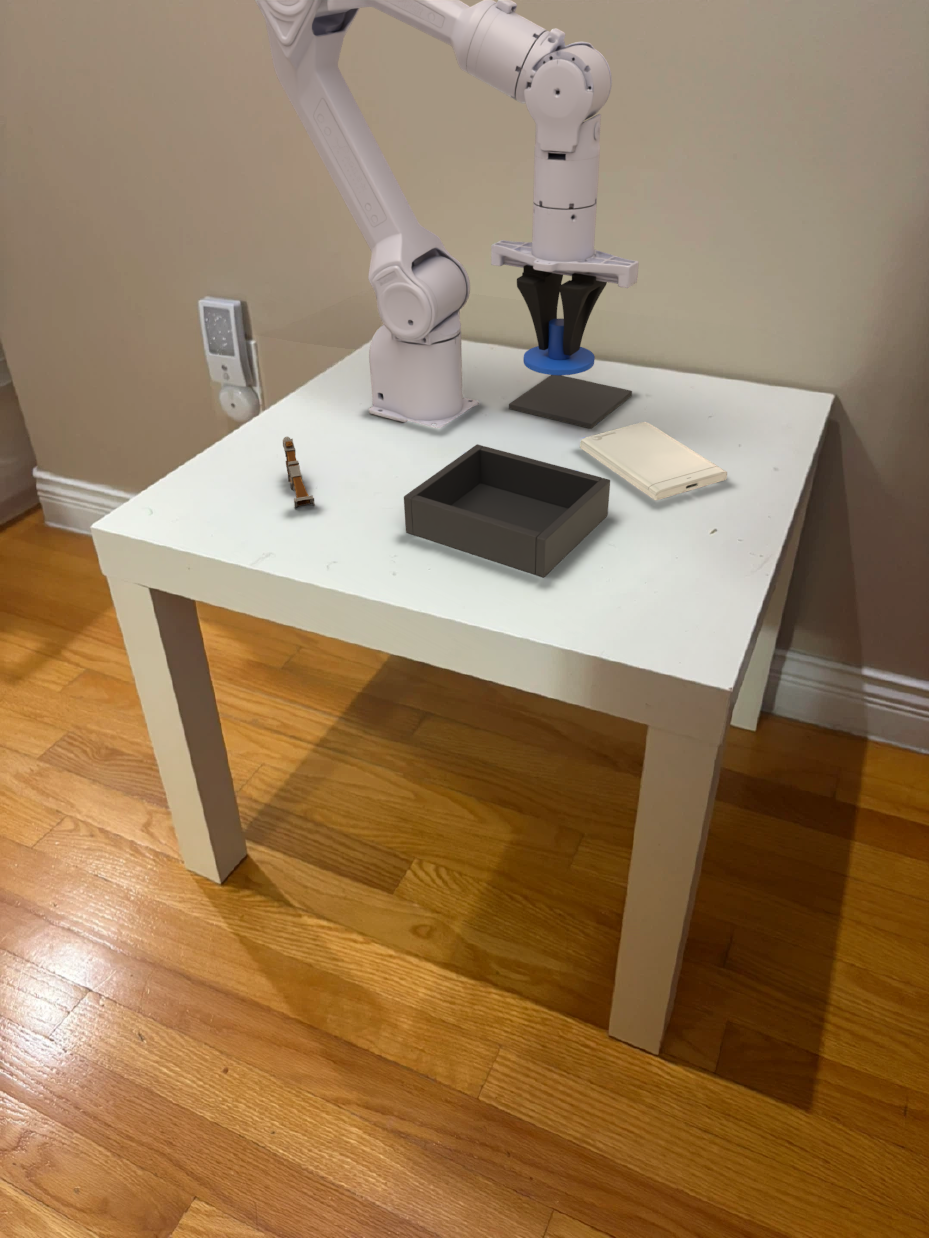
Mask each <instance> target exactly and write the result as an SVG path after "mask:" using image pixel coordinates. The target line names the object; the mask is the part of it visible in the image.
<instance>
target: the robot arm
mask: <svg viewBox="0 0 929 1238" xmlns="http://www.w3.org/2000/svg"><path fill="white" fill-rule="evenodd" d="M254 1H255V4H256V6H257V7H258V9H259V11H260V13H261V15H262V16H263V19H264V22H265V26H266V27H265V28H266V32H267V38H268V43H269V49H270V55H271V60H272V65H273V69H274V73H275V75H276V77H277V80H278V82H279V84H280V85H281V88H282V89H283V91H284V93H285V95H286V97H287V99H288V100H289V102H290V104H291V106H292V108H293V109H294V111H295V113H296V115H297V118H298V119H299V121H300V123H301V125H302V127H303V128H304V130H305V132H306V134H307V136H308V137H309V139H310V141H311V143H312V145H313V146H314V148H315V150H316V152H317V154H318V156H319V157H320V160H321V161H322V163H323V165H324V167H325V169H326V171H327V173H328V174H329V177H330V178H331V180H332V182H333V183H334V185H335V187H336V189H337V191H338V193H339V195H340V197H341V198H342V200H343V202H344V203H345V207H347V209H348V211H349V213H350V215H351V217H352V219H353V220H354V222H355V224H356V226H357V228H358V230H359V232H360V233H361V235H362V237H363V239H364V241H365V242H366V244H367V246H368V248H369V250H370V252H371V253H370V255H371V256H370V261H369V262H370V263H369V269H368V274H367V275H368V277H367V280H368V282H369V284H370V285H371V287H372V290H373V291H374V294H375V298H376V299H375V300H376V307H377V313H378V316H379V319H380V321H381V323H382V325H380V327H378V328H377V330H376V331H375V332H374V334H373V336H372V338H371V341H370V345H369V351H368V358H369V359H368V361H369V363H368V364H369V376H370V385H371V387H370V388H371V400H372V406H370V407H369V408H368V413H369V414H371V415H375V416H378V417H382V418H386V419H391V420H393V421H396V422H397V421H398V422H400V423H407V422H411V423H416V424H418V425H423V426H426V427H431V428H434V429H441V428H443V427H444V426H446V425H448V424H449V423H451V422H452V421H453V420H455V419H457V418H458V417H459V416H462V415H463V414H464V413H466V412H467V411H469V410H470V409H472V408H473V407H475V406H479V404H480V402H479V401H478V400H476V399H473V398H472V399H471V398H467V397H463V396H464V395H463V357H462V356H463V355H462V354H463V353H462V323H461V312H460V311H461V310H462V309H463V308H464V307H465V305H466V304H467V302H468V300H469V298H470V294H471V281H470V280H471V279H470V277H469V274H468V272H467V270H466V268H465V267H464V265H463V264H462V262H460V260H458V259H457V258H456V257H455V256H453V255H452V254H451V253H450V252H449V251H448V250H447V248H446V247H445V244H444V243H443V242H442V241H443V240H442V239H441V237H440V236H438V235H437V234H435V233H434V232H433V231H431V230H429V229H428V228H426V227H424V226H423V225H421V224H420V222H419V220H418V218H417V216H416V215H415V213H414V211H413V209H412V206H411V205H410V203H409V201H408V199H407V197H406V195H405V194H404V191H403V190H402V187H401V186H400V184H399V182H398V180H397V178H396V176H395V174H394V172H393V171H392V168H391V167H390V164H389V163H388V161H387V159H386V157H385V154H384V153H383V151H382V149H381V147H380V145H379V144H378V141H377V140H376V138H375V135H374V133H373V132H372V130H371V128H370V126H369V124H368V122H367V120H366V118H365V116H364V114H363V112H362V111H361V108H360V107H359V105H358V103H357V101H356V99H355V97H354V95H353V93H352V91H351V89H350V87H349V86H348V83H347V81H346V80H345V78H344V75H343V74H342V72H341V70H340V67H339V61H340V55H341V51H342V47H343V45H344V43H343V42H344V39H345V37H346V35H347V33H348V31H349V30H350V28H351V26H352V24H353V22H354V21H355V18H356V17H357V15H358V13H359V11H360V9H361V8H373V9H376V10H377V11H380V12H382V13H383V14H386V15H387V16H390V17H392V18H394V19H396V20H398V21H400V22H401V23H403V24H406V25H408V26H410V27H412V28H414V29H416V30H418V31H420V32H422V33H424V34H426V35H428V36H431V37H432V38H434V39H437V40H438V41H440V42H443V43H445V44H446V45H449V46H450V47H451V49H452V50H453V53H454V56H455V60H456V62H457V64H458V68H459V69H460V70H461V71H463V72H465V73H467V74H469V75H470V76H472V77H473V78H475V79H477V80H479V81H481V82H482V83H483V84H486V85H487V86H489V87H491V88H493V89H495V90H497V91H498V92H500V93H502V94H503V95H506V96H507V97H509V98H510V99H513V100H514V101H516V102H518V103H520V104H521V105H525V106H526V108H527V111H528V113H529V115H530V117H531V118H532V120H533V121H534V123H535V129H534V131H535V132H534V134H535V135H534V149H533V160H534V161H533V189H532V190H533V191H532V192H533V200H532V237H531V239H532V240H531V241H515V240H506V239H501V240H499V241H496V242H493V244H491V245H490V246H491V247H490V251H491V252H490V265H491V266H494V267H495V266H496V267H503V266H508V267H509V266H510V267H515V268H522V269H523V271H522V274H521V275H520V276H519V277H517V278H516V288H517V290H518V291H519V292H520V294H521V296H522V298H523V300H524V302H525V304H526V306H527V309H528V311H529V314H530V317H531V320H532V324H533V327H534V332H535V335H536V341H537V346H539V349H540V350H546V349H548V337H549V321H551V320H553V319H558V306H559V299H560V300H561V305H562V313H563V314H562V315H563V319H564V332H563V352H564V355H569V356H571V355H572V354H574V353H575V352H577V351H578V350H579V349H580V347H581V344H582V340H583V337H584V333H585V329H586V328H587V325H588V321H589V318H590V316H591V314H592V312H593V309H594V307H595V305H596V303H597V301H598V300H599V297H600V296H601V294H602V293H603V290H604V289H605V288H606V286H607V284H608V283H609V284H615V285H617V287H620V288H622V289H629V288H631V287H633V286H634V285H635V284H637V283H638V278H639V277H638V276H639V265H640V261H639V260H634V259H628V258H624V257H621V256H617V255H615V254H612V253H608V252H605V251H601V250H599V249H595V241H596V239H595V238H596V223H597V222H596V221H597V207H598V192H599V191H598V190H599V188H598V187H599V176H600V175H599V173H600V157H601V143H600V142H601V141H600V140H601V127H602V126H601V124H602V123H601V122H602V113H599V112H600V111H601V110H602V109H603V108H604V106H605V105H606V103H607V102H608V99H609V98H610V95H611V92H612V86H613V78H612V77H613V76H612V70H611V67H610V65H609V62H608V61H607V59H606V57H605V56H604V55H603V54H602V53H601V52H600V51H599V50H598V49H596V48H595V47H594V45H593V44H592V43H590V42H589V41H574V42H572V43H570V44H567V45H566V42H565V38H566V32H565V31H562V30H561V29H559V28H557V27H554V28H552V29H551V30H548V29H546V28H544V27H543V26H541V25H539V24H537V23H536V22H533V21H531V20H530V19H528V18H526V17H524V16H522V15H521V14H519V13H517V12H516V10H517V8H518V4H517V2H515V1H513V0H497V1H495V0H480V1H479V2H477V3H475V4H473V5H471V6H470V5H468V4H467V3H465V2H463V1H462V0H254ZM564 276H568V277H571V279H569V280H567V281H565V282H563V277H564ZM562 282H563V283H562Z"/></svg>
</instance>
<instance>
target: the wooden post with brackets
mask: <svg viewBox="0 0 929 1238" xmlns="http://www.w3.org/2000/svg"><path fill="white" fill-rule="evenodd" d="M282 447H283V451H284V454H285V458H286V460H285V468H286V472H287V482H288V483H290V490H293V491H294V493H295V498H293V505H294V508H298V507H299V506H305V505H310V506H312V505H313V507H315V506H316V505H315V497H314V495H313V494H311V495H309V493H308V491H307V489H306V486H305V484H304V482H303V473H302V472H301V469H300V468H301V467H300V462H299V460H297V457H296V452H297V451H296V448H295V444H294V438H291V437H289V436H284V437H283V439H282Z"/></svg>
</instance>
